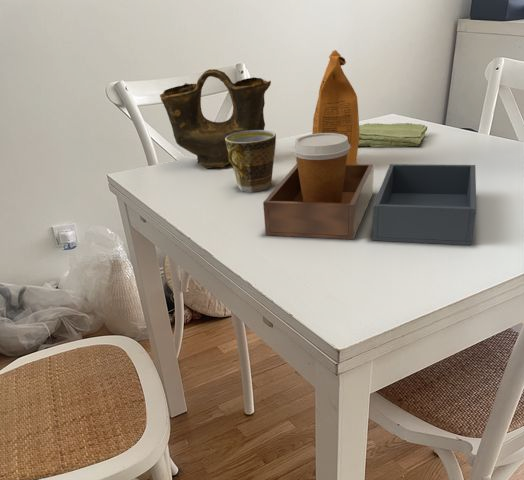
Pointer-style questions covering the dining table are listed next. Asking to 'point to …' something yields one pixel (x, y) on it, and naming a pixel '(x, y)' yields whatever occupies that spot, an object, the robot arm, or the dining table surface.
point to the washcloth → (391, 134)
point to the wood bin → (319, 207)
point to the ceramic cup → (252, 158)
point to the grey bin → (426, 204)
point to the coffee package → (338, 106)
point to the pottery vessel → (208, 132)
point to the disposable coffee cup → (322, 166)
